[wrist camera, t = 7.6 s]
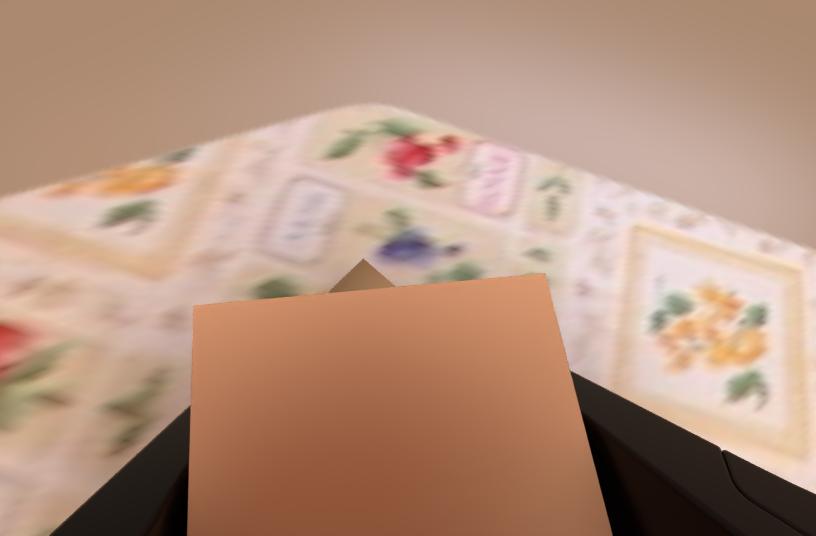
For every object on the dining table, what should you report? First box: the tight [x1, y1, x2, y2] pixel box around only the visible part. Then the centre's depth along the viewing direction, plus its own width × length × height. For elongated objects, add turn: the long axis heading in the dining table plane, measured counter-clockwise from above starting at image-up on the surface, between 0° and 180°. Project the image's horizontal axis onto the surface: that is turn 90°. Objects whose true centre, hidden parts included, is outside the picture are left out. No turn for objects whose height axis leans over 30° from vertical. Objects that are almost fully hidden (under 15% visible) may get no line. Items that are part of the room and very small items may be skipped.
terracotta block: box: [187, 273, 613, 536], centre depth 10 cm, size 5×5×9 cm
